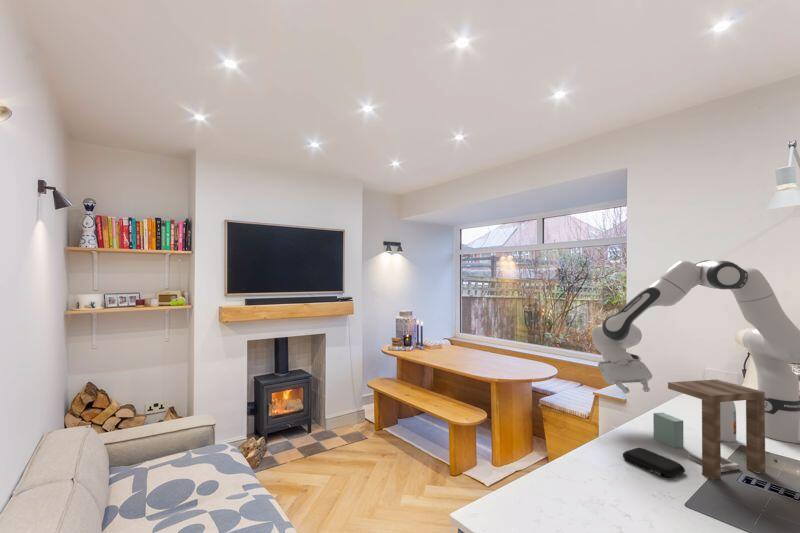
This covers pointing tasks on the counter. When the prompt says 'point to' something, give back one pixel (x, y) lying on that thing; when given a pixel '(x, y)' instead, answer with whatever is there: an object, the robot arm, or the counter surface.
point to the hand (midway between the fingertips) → (637, 391)
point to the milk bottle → (728, 421)
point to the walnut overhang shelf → (711, 434)
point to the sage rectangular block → (668, 429)
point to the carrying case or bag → (654, 462)
